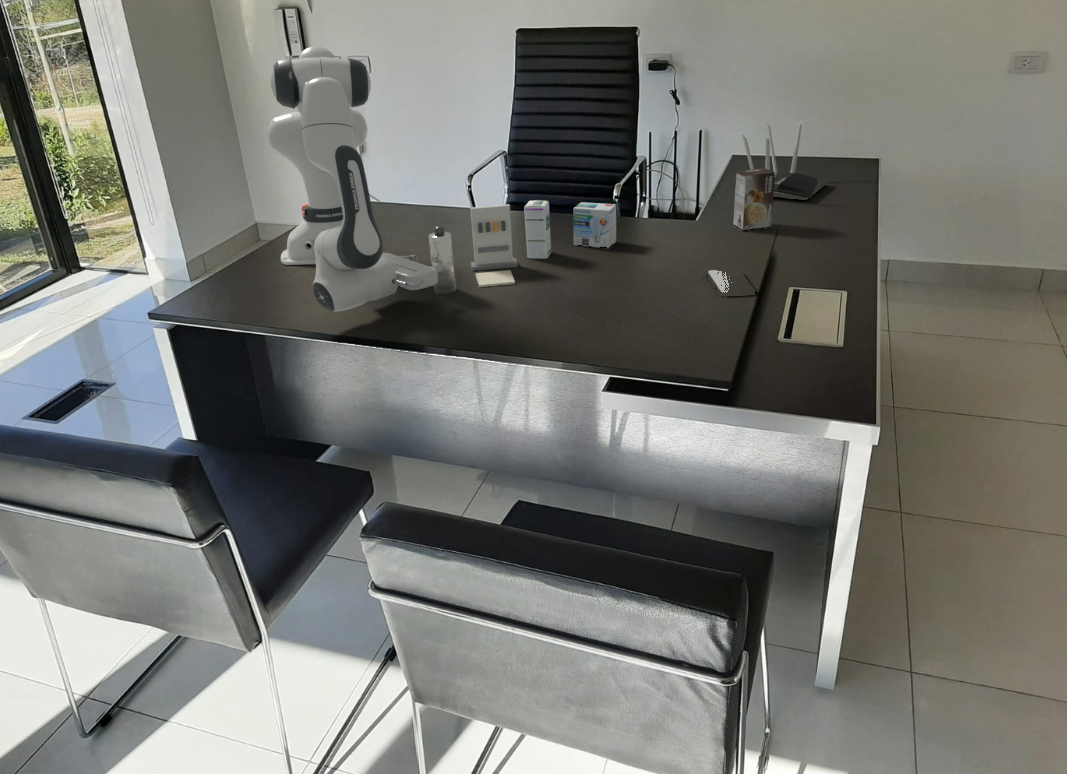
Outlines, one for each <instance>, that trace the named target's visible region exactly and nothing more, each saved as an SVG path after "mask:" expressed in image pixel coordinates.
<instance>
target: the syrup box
mask: <svg viewBox="0 0 1067 774" xmlns="http://www.w3.org/2000/svg"><path fill="white" fill-rule="evenodd" d="M523 208H524V209H523V211H524V213H523V215H524V225H525V227H524V228H525V242H526V257H527V259H534V260H535V259H537V260H540V259H541V260H542V259H545V260H547V259H548V258H549V257H550V255H551V253H552V237H551V236H552V235H551V216H550V215H551V214H550V202H549V200H541V199H539V200H538V199H535V200H529V201H528V202H527V203H526V204H525V205H524V207H523Z"/></svg>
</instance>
